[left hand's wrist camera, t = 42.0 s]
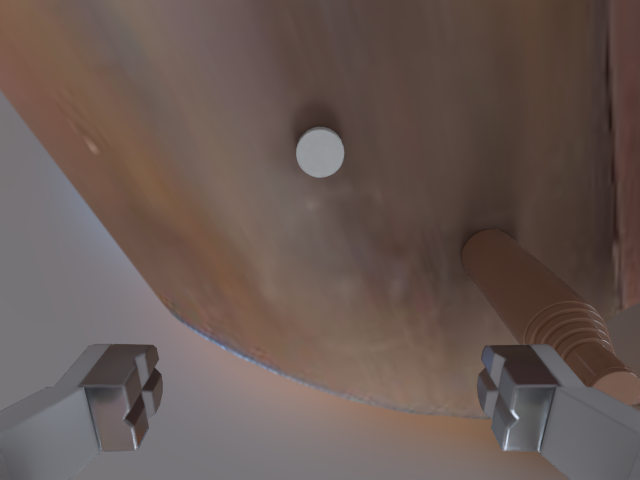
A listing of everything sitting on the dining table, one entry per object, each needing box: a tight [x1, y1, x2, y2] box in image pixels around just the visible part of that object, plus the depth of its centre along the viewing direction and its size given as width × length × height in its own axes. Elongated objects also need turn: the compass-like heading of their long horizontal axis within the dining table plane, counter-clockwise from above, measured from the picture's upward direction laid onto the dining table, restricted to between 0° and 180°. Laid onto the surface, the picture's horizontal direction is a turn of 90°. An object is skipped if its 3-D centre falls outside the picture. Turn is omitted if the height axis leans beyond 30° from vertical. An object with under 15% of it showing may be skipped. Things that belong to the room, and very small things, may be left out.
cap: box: [296, 126, 345, 177], centre depth 38 cm, size 4×4×2 cm
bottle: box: [461, 229, 640, 406], centre depth 34 cm, size 6×6×20 cm
